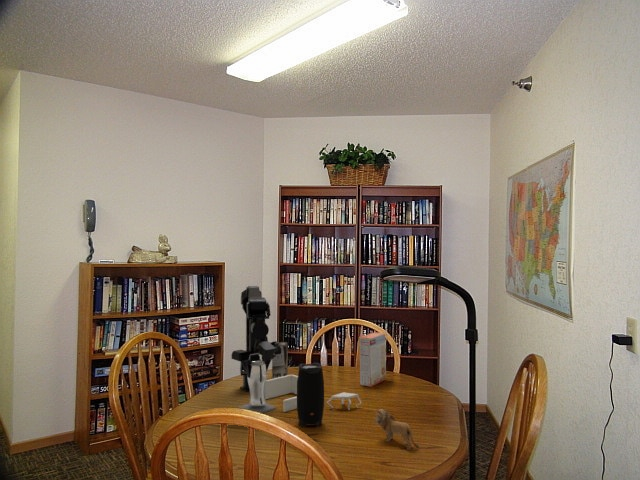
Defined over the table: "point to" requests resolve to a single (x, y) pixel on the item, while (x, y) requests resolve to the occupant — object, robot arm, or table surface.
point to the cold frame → (283, 390)
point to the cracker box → (372, 359)
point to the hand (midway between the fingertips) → (257, 375)
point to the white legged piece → (343, 396)
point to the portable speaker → (310, 394)
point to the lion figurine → (394, 427)
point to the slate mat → (259, 408)
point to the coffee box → (280, 362)
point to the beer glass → (257, 383)
